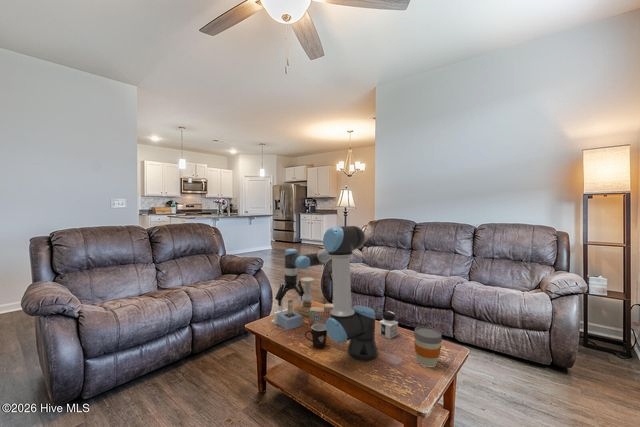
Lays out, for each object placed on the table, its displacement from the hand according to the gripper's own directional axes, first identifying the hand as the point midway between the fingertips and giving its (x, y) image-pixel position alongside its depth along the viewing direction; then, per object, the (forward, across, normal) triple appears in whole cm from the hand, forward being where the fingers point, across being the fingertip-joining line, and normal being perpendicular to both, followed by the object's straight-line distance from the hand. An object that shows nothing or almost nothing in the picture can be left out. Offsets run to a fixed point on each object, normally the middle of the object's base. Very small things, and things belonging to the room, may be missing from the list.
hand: (290, 308), depth 173 cm
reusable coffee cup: (+10, -29, +74) cm, 81 cm away
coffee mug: (+10, +3, +30) cm, 31 cm away
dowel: (+9, 0, 0) cm, 9 cm away
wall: (+10, 0, -8) cm, 13 cm away
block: (+10, 0, 0) cm, 10 cm away
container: (+10, -38, +46) cm, 60 cm away
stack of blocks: (+11, -18, +13) cm, 25 cm away
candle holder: (+10, -19, -8) cm, 23 cm away
